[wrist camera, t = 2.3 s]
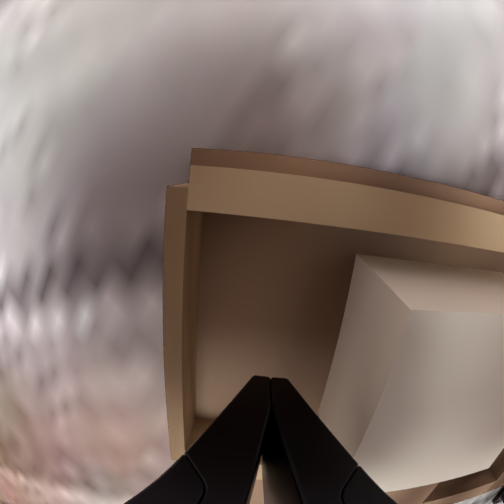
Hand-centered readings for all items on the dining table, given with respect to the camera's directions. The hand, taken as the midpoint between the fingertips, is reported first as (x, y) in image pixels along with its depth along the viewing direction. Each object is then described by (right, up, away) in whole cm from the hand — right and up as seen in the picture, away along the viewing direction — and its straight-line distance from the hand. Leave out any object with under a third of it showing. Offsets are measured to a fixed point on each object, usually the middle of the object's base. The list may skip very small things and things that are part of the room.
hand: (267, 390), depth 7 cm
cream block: (+5, 0, +2) cm, 6 cm away
